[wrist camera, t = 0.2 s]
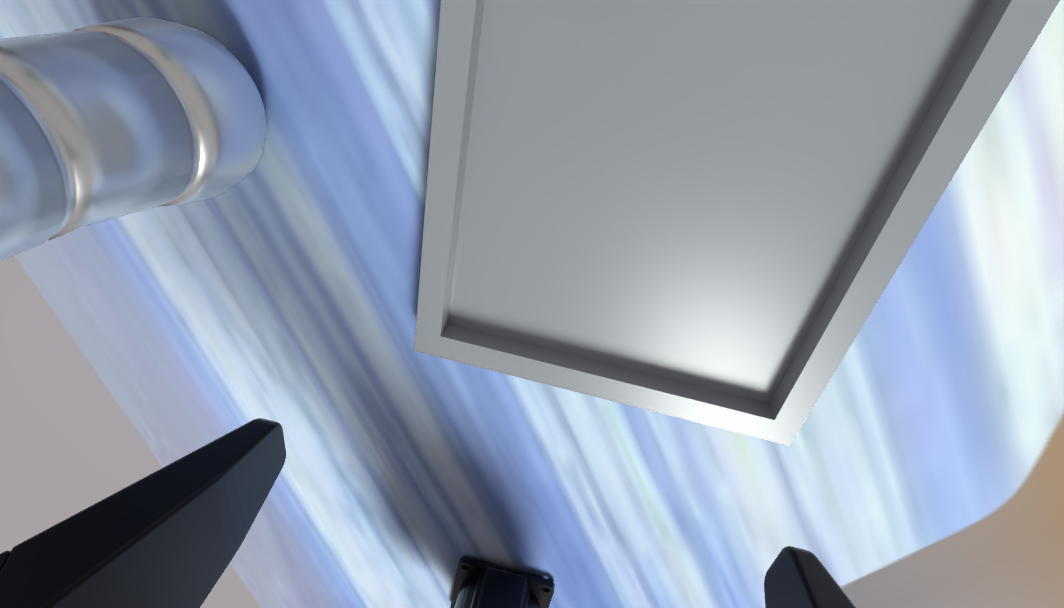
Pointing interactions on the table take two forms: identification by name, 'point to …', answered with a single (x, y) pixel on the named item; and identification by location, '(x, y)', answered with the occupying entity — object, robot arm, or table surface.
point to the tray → (693, 186)
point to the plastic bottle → (118, 125)
